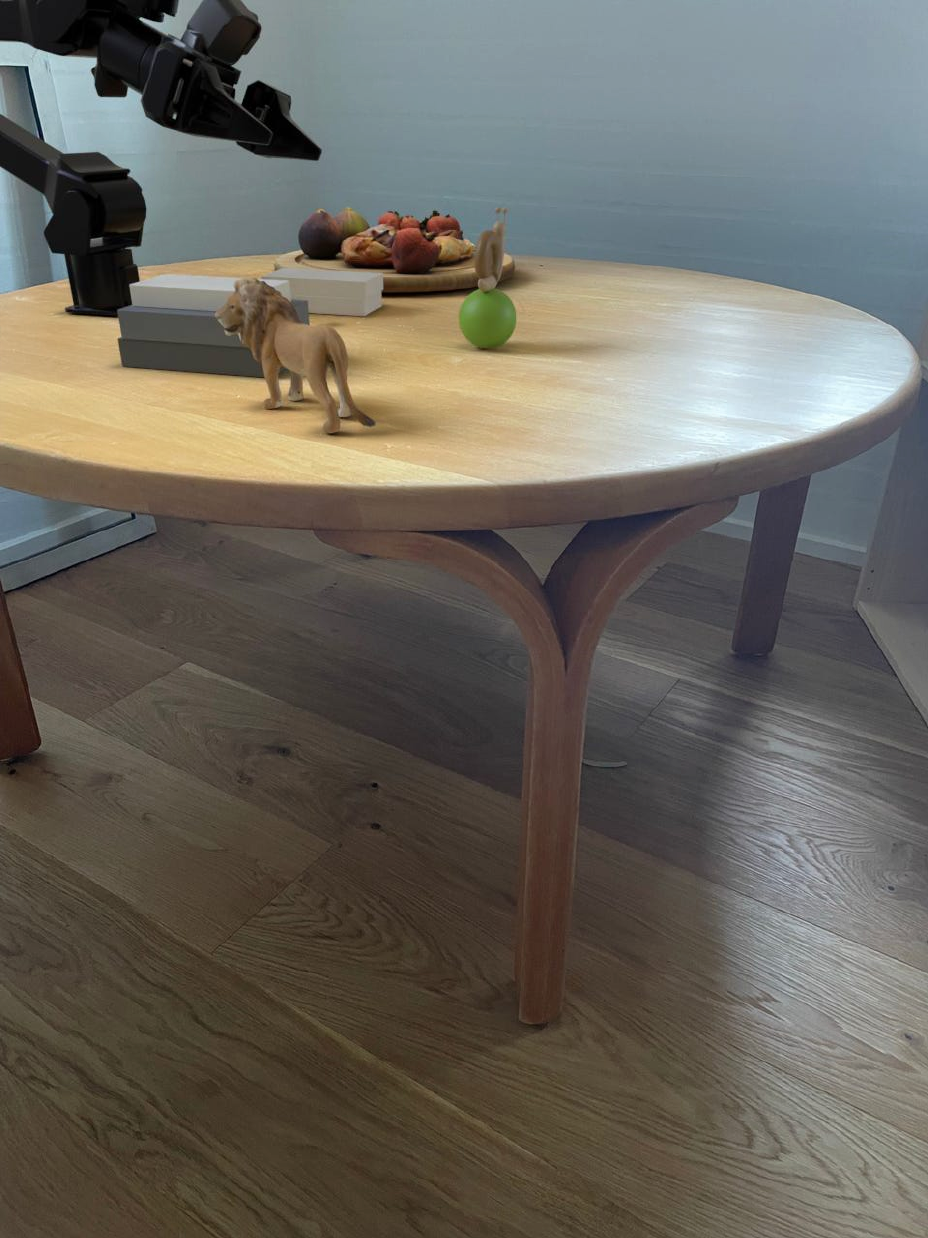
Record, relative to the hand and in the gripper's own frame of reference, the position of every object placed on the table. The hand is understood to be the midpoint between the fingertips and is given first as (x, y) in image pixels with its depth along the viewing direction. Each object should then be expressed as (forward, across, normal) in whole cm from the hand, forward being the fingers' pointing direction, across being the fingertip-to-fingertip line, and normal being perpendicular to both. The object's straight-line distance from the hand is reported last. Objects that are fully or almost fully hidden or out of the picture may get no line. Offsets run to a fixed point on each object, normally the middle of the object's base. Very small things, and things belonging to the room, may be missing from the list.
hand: (296, 147), depth 84 cm
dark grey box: (+5, -10, +18) cm, 21 cm away
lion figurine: (+19, -21, +14) cm, 32 cm away
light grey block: (+2, +15, +15) cm, 21 cm away
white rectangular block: (+4, -10, +14) cm, 18 cm away
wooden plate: (-1, +38, +12) cm, 40 cm away
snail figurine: (+24, +4, +8) cm, 25 cm away
